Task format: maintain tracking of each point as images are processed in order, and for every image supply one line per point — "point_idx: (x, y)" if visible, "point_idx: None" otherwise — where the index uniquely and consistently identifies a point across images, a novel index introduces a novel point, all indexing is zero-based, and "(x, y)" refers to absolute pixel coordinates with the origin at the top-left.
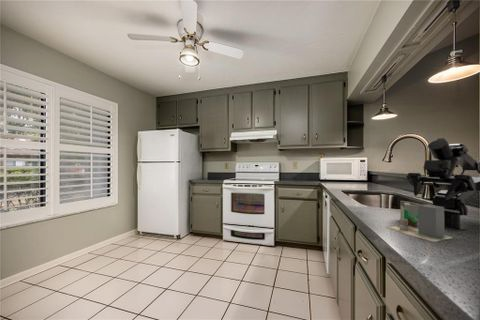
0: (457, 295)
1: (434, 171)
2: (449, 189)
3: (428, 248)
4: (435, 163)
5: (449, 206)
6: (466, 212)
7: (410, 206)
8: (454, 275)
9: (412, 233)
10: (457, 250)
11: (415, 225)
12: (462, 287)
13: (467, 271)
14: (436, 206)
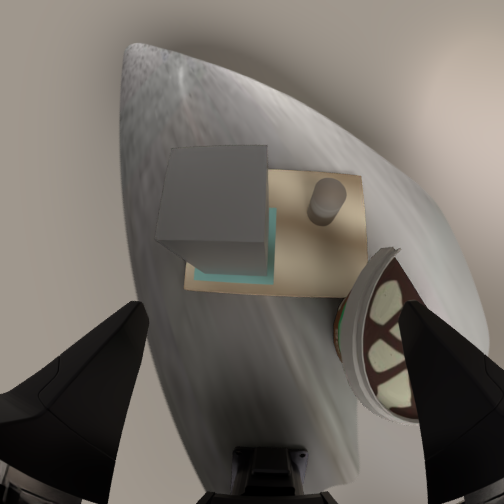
0: (135, 50)
1: None
2: (72, 368)
3: (199, 135)
4: None
5: (241, 496)
6: None
7: (374, 276)
8: (140, 77)
9: (277, 192)
10: (152, 191)
11: (335, 325)
12: (132, 63)
13: (128, 102)
14: (188, 212)
